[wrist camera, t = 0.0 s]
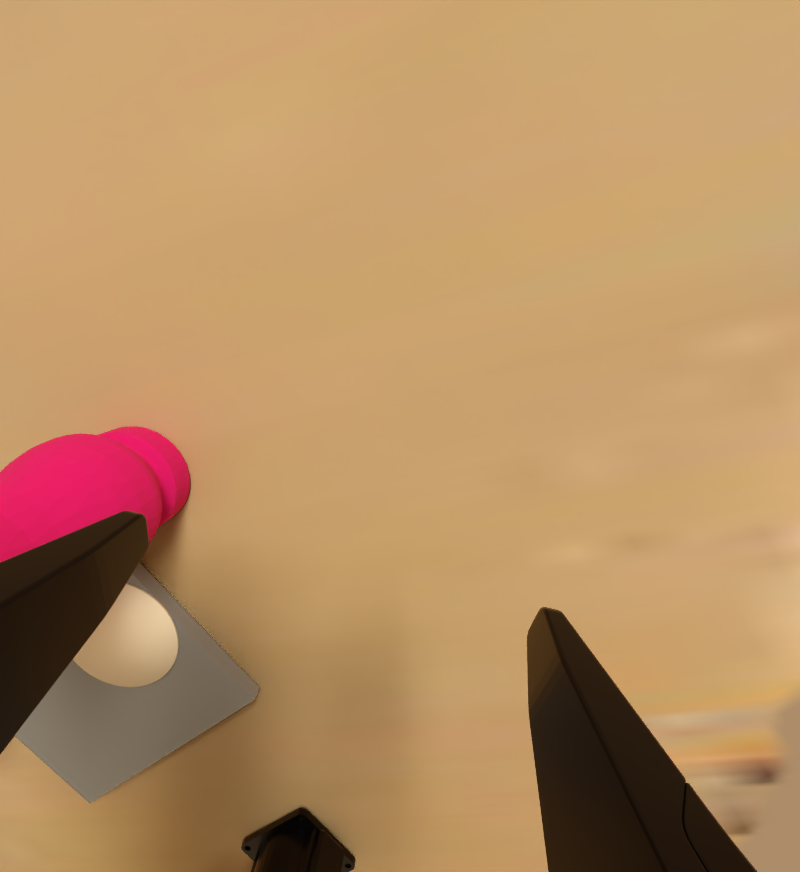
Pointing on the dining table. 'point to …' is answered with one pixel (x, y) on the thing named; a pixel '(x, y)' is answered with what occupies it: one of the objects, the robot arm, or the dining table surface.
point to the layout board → (134, 692)
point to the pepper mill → (89, 485)
